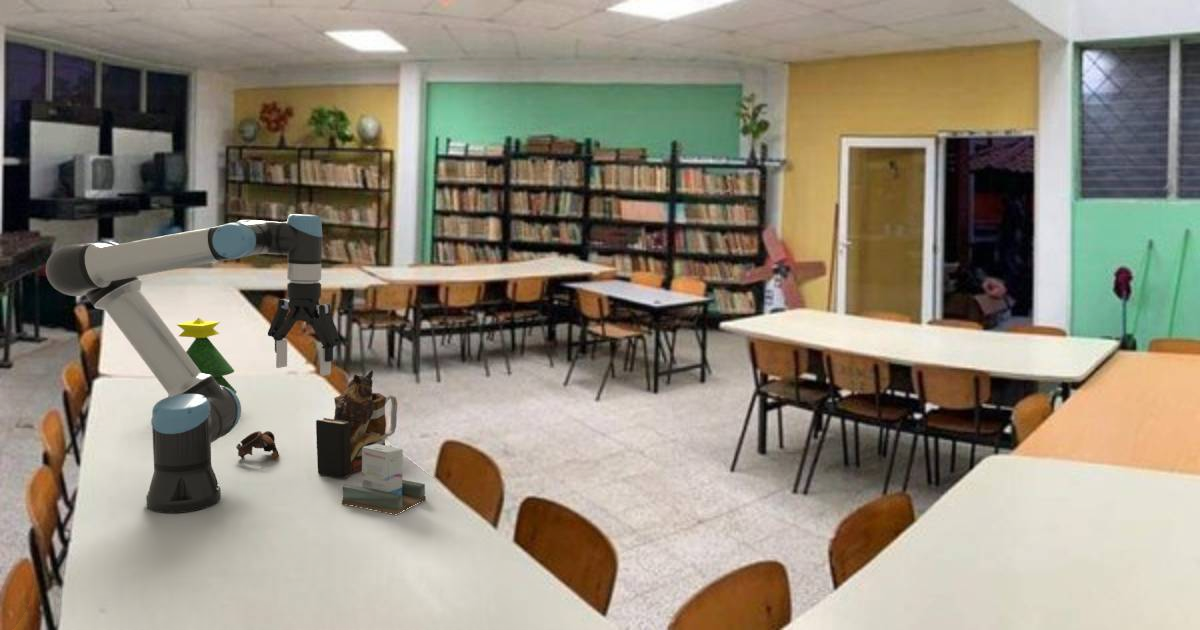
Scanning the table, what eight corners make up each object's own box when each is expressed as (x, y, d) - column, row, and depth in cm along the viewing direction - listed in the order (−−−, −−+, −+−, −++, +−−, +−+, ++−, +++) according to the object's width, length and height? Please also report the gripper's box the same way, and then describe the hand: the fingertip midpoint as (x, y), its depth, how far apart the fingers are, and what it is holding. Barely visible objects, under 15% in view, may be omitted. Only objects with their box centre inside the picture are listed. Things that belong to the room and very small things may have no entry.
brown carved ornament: (275, 466, 230) (256, 441, 227) (244, 479, 231) (226, 454, 229) (291, 442, 241) (274, 418, 238) (262, 455, 242) (244, 431, 240)
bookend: (343, 481, 218) (342, 381, 214) (312, 473, 223) (311, 375, 220) (387, 467, 230) (386, 372, 227) (357, 459, 236) (356, 366, 232)
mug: (357, 462, 234) (357, 406, 232) (324, 452, 241) (323, 398, 239) (413, 445, 250) (413, 393, 248) (379, 437, 257) (379, 386, 255)
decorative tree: (213, 423, 267) (210, 323, 263) (155, 418, 270) (151, 320, 266) (249, 408, 286) (247, 315, 282) (195, 404, 289) (192, 312, 285)
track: (396, 515, 196) (396, 497, 196) (341, 504, 202) (341, 487, 202) (425, 500, 206) (425, 483, 206) (372, 489, 212) (372, 473, 212)
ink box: (403, 498, 204) (403, 448, 203) (388, 504, 200) (388, 453, 198) (376, 491, 209) (376, 441, 207) (360, 496, 204) (360, 446, 203)
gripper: (357, 285, 205) (355, 375, 208) (276, 275, 216) (275, 361, 219) (334, 287, 199) (332, 381, 202) (252, 277, 209) (251, 366, 212)
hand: (303, 371), depth 210 cm, fingers open, 13 cm apart
